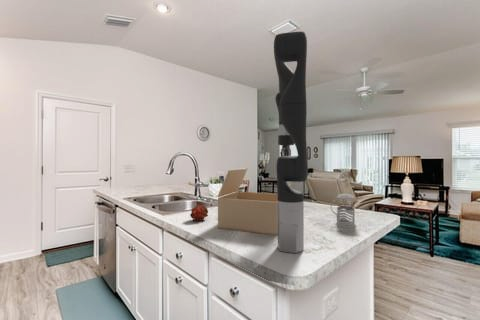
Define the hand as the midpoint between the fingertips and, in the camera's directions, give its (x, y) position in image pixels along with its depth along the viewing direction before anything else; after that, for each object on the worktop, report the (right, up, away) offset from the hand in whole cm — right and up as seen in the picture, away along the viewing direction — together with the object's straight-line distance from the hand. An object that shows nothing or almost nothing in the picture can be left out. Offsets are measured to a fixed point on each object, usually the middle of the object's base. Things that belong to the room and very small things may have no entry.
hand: (285, 171), depth 112 cm
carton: (-14, -26, +5) cm, 30 cm away
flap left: (-24, -5, +9) cm, 27 cm away
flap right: (0, -5, -1) cm, 5 cm away
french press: (+29, -26, +4) cm, 39 cm away
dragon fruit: (-43, -26, +14) cm, 52 cm away
